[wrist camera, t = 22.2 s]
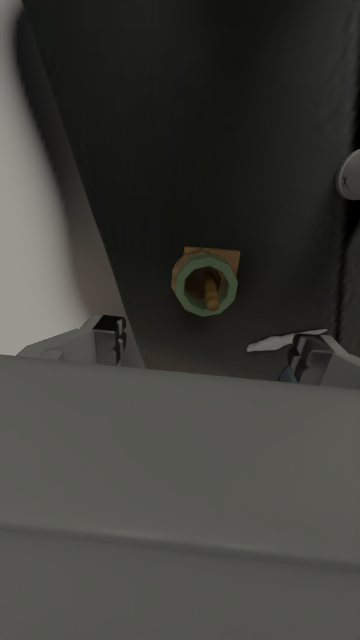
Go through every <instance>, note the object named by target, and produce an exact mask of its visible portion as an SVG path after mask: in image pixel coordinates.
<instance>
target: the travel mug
mask: <svg viewBox="0 0 360 640" xmlns="http://www.w3.org/2000/svg"><path fill="white" fill-rule="evenodd" d="M335 187H336V190H337V192H338V193H339V195H340V196H341V197H343V198H345V199H349V200H360V149H358V150H356V151H354V152H353V153H351V154H350V155H348V156H347V157H346V158H345V159H344V160H343V162H342V163H341V165H340V166H339V168H338V170H337V173H336V177H335Z"/></svg>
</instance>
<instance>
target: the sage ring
mask: <svg viewBox="0 0 360 640" xmlns="http://www.w3.org/2000/svg"><path fill="white" fill-rule="evenodd" d="M207 266H211V267H213V268H215V269H217V270H220V271H222V272H223V273H224V275H225V277H226V279H227V281H226V287H225V291H224V292H223V293H222V294H221V295H220V296H219V302H220V307H219V309H218V310H217V311H214V312H211V311H209V310H208V309H207V308H206V305H205V302H201V301H199V300H197V299H194V298H192V297H191V296H190V294H189V293H188V291H187V290H186V288H185V279H186V278H187V277H188V276H189V275H190V274H191V272H192V271H193V270H194V269H197V268H202V267H207ZM237 285H238V281H237V279H236V277H235V275H234V273H233V271H232V269H231V267H230V265H229V263H228V261H227V260H225V259H223V258H221V257H219V256H216V255H214V254H212V253H205V254H201V255H196V256H192V257H190V258H189V259H188V260H187V262H186V263H185V264H184V265H183V266H182V267H181V268H180V270H179V271H178V275H177V282H176V296H177V298H178V299H179V301H180V302H181V304H182V306H183V307H184V309H185V310H187V311H190V312H192V313H194V314H197V315H199V316H202V317H204V316H210V315H215V314H220V313H222V312H223V311H224V310H225V309H226V308H227V307H228V306H229V305H230V304H231V303H232V302H233V301H234V300H235V295H236V290H237Z"/></svg>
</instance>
